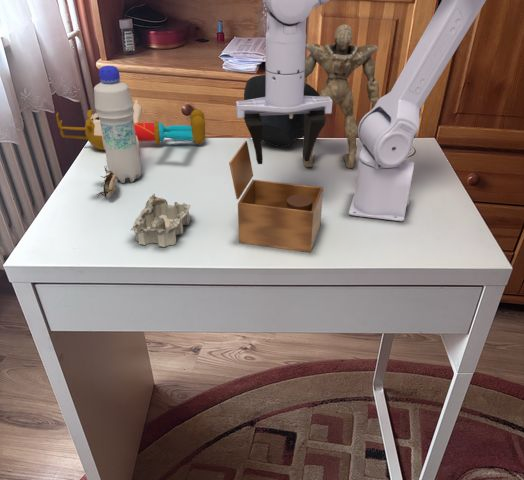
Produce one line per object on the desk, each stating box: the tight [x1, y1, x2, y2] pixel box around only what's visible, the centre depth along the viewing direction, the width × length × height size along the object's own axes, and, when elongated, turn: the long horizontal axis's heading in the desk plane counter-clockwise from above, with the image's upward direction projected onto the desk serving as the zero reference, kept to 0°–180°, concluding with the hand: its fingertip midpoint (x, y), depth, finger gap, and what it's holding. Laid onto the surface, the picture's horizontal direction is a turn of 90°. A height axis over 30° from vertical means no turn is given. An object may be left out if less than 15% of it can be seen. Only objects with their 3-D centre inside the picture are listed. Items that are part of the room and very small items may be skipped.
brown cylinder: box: [287, 195, 312, 211], centre depth 88 cm, size 4×4×6 cm
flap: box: [228, 140, 254, 200], centre depth 85 cm, size 6×9×1 cm
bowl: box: [243, 74, 320, 148], centre depth 115 cm, size 17×17×10 cm
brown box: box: [237, 179, 324, 253], centre depth 88 cm, size 12×9×7 cm
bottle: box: [93, 65, 142, 184], centre depth 100 cm, size 7×7×20 cm
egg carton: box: [130, 193, 191, 248], centre depth 90 cm, size 11×8×4 cm
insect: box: [96, 164, 118, 198], centre depth 100 cm, size 6×9×3 cm
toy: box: [55, 99, 206, 153], centre depth 116 cm, size 25×8×30 cm
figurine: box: [289, 23, 380, 169], centre depth 104 cm, size 18×8×25 cm, turn 91°
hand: (282, 160), depth 89 cm, fingers open, 7 cm apart
